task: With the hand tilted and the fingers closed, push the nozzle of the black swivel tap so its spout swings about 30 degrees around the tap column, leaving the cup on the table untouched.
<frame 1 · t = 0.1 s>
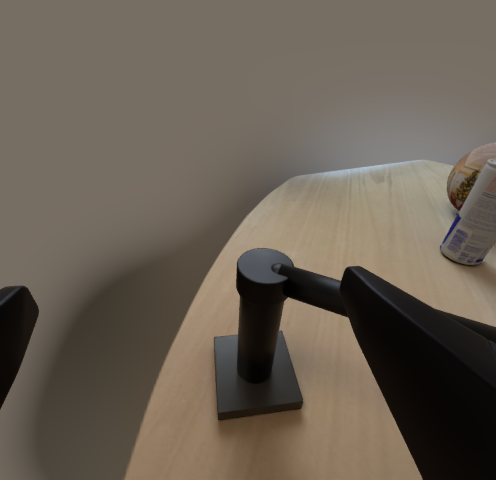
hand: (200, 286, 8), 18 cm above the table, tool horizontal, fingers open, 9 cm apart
tap column: (253, 373, 25), on the table
ornament: (474, 218, 55), on the table
spout: (357, 331, 17), point 10 cm above the table, hinge at 0.0°
beverage can: (458, 257, 43), on the table
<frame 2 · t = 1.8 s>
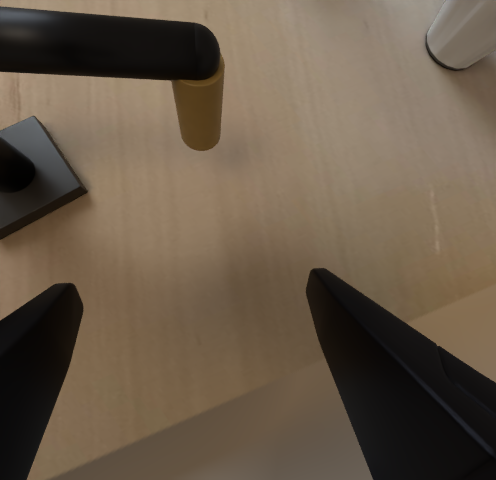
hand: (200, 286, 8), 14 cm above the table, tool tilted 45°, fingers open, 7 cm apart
cup: (447, 49, 30), on the table
tap column: (22, 179, 21), on the table
spout: (35, 87, 12), point 10 cm above the table, hinge at 0.0°
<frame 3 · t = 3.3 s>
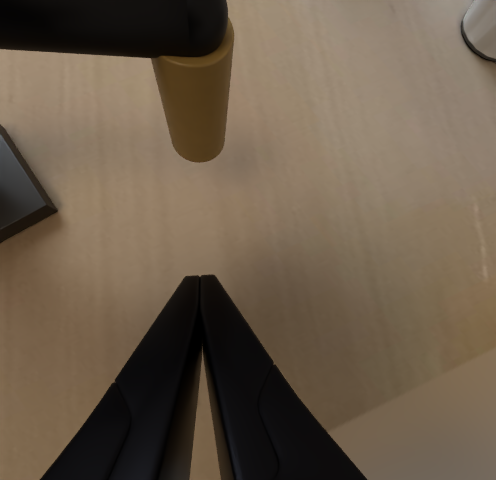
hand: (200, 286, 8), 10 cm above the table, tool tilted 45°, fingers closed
cup: (485, 38, 26), on the table
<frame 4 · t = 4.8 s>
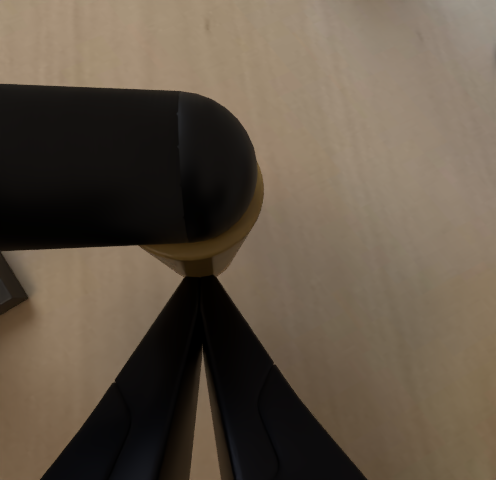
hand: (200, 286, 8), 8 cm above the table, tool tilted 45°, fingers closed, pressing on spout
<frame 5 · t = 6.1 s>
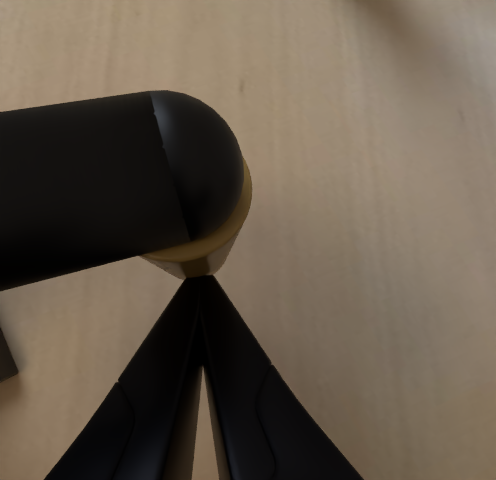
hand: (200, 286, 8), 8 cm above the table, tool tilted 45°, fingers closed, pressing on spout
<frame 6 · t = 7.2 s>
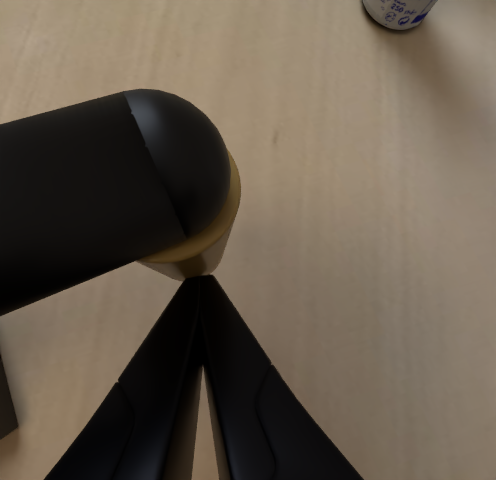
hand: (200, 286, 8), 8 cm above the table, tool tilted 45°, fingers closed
beverage can: (388, 9, 22), on the table
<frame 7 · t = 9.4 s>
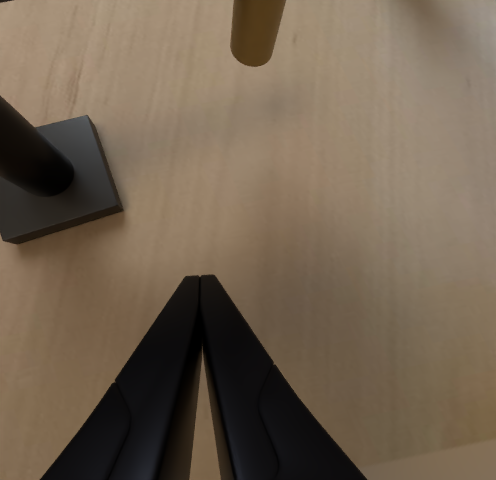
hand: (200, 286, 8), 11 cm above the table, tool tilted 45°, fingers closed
tap column: (57, 181, 19), on the table
spout: (93, 18, 10), point 10 cm above the table, hinge at 34.8°
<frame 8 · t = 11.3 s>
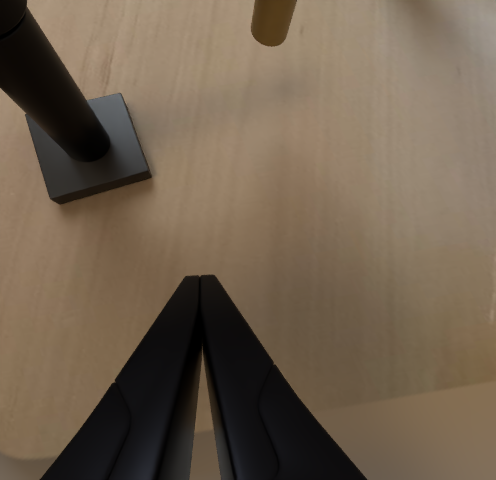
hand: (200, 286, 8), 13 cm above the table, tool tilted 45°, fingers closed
tap column: (94, 151, 21), on the table
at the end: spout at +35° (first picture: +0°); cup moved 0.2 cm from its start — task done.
